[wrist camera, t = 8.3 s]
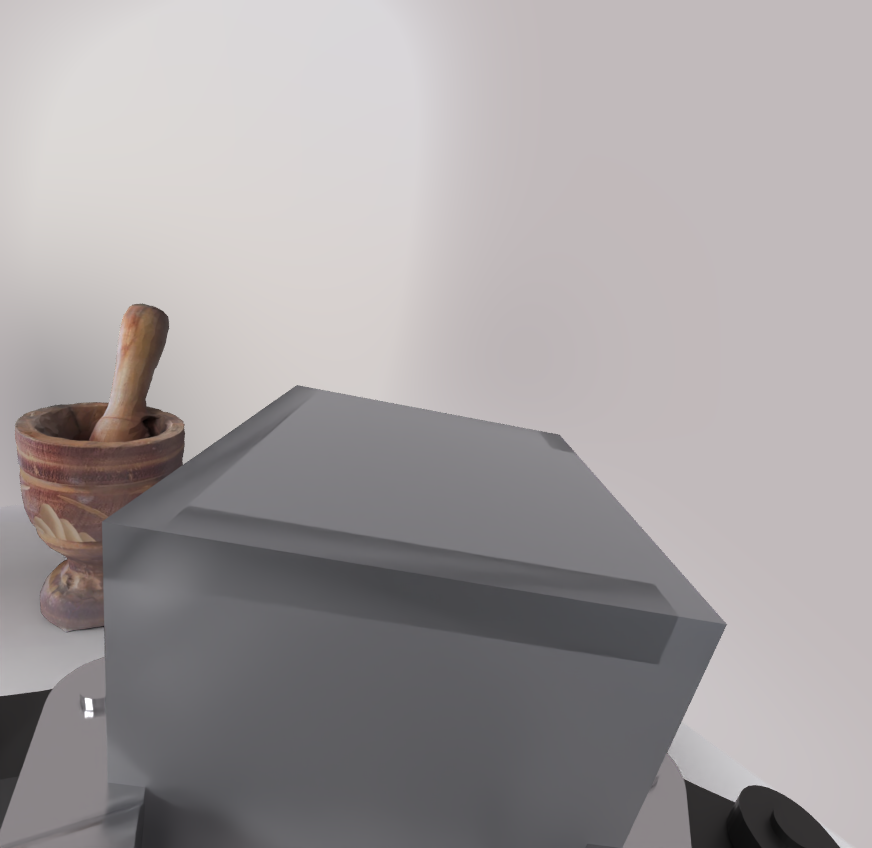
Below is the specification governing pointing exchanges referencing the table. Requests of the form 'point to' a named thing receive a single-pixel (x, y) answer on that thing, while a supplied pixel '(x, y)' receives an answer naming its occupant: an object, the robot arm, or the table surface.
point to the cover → (391, 638)
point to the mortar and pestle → (96, 468)
